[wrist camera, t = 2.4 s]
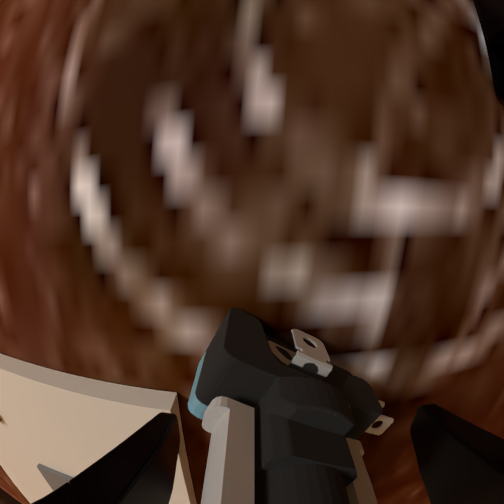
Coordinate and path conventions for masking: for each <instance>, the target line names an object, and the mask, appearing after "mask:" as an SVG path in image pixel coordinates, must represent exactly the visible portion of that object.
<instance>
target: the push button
mask: <svg viewBox="0 0 504 504" xmlns="http://www.w3.org/2000/svg"><path fill="white" fill-rule="evenodd" d="M291 334H292V338H293V342H294V346H295V348H293V347H291V346H289V345H287V344H284V343H282V342H280V341H278V340H276V339H274V338H271V337H269V336H267V335H265V332H264V330H263V327H262V324H261V322H260V321H259V320H258V319H257V318H256V317H254V316H252V315H250V314H248V313H246V312H244V311H242V310H240V309H237V308H230V310H229V311H228V313H227V315H226V317H225V318H224V320H223V322H222V324H221V326H220V327H219V329H218V331H217V333H216V334H215V336H214V338H213V340H212V341H211V343H210V345H209V347H208V348H207V350H206V352H205V354H204V355H203V357H202V359H201V361H200V362H199V365H198V369H197V373H196V376H195V380H194V383H193V387H192V390H191V394H190V398H189V401H188V409H189V411H190V412H191V413H192V414H193V415H194V416H196V417H197V418H200V419H202V420H203V421H202V427H203V429H204V430H206V431H207V432H209V433H212V434H211V440H210V446H209V453H208V459H207V466H206V472H205V479H204V485H203V492H202V499H201V504H378V502H377V499H376V496H375V493H374V490H373V487H372V484H371V482H370V479H369V476H368V473H367V470H366V467H365V464H364V461H363V459H362V456H363V454H364V450H363V447H362V444H361V442H360V441H358V440H357V439H358V438H359V437H360V436H361V435H362V434H363V433H364V432H367V433H371V434H375V435H381V434H382V433H383V432H384V431H385V430H386V429H387V428H388V427H389V426H390V425H391V424H392V423H393V422H394V419H393V418H391V417H388V416H385V415H381V414H382V413H383V409H382V408H383V407H384V406H385V403H384V402H383V401H380V400H378V399H377V397H376V395H375V393H374V391H373V390H372V388H371V386H370V385H369V384H368V383H367V382H366V381H364V380H363V379H361V378H358V377H356V376H353V375H352V374H351V373H350V372H348V371H347V370H344V369H342V368H340V367H337V366H335V365H332V364H330V363H329V362H330V358H329V356H328V354H327V351H326V349H325V346H324V344H323V343H322V342H321V341H320V340H319V339H317V338H315V337H313V336H311V335H309V334H306V333H304V332H302V331H300V330H298V329H292V330H291ZM303 339H305V340H307V341H309V342H311V343H312V344H313V345H314V346H315V347H316V348H313V347H311V346H309V345H308V344H306V343H305V342H304V341H303ZM376 421H383V422H382V424H381V425H380V426H379V427H377V428H372V425H373V423H375V422H376Z"/></svg>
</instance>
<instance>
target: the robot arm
mask: <svg viewBox="0 0 504 504" xmlns="http://www.w3.org/2000/svg"><path fill="white" fill-rule="evenodd" d="M473 1H474V3H475V7H476V10H477V13H478V16H479V20H480V23H481V27H482V30H483V34H484V38H485V42H486V46H487V51H488V55H489V60H490V65H491V71H492V76H493V83H494V87H495V90H496V92H497V94H498V95H499V96H500V98H501V99H503V100H504V0H473ZM410 433H411V437H412V441H413V445H414V449H415V453H416V457H417V461H418V465H419V469H420V473H421V476H422V479H423V482H424V485H425V488H426V491H427V493H428V496H429V499H430V502H431V504H504V439H502V438H500V437H498V436H496V435H494V434H492V433H490V432H488V431H486V430H484V429H482V428H480V427H478V426H476V425H474V424H472V423H470V422H468V421H466V420H464V419H462V418H460V417H458V416H456V415H455V414H453V413H451V412H449V411H447V410H445V409H443V408H441V407H439V406H438V405H436V404H434V403H429V404H424V405H421V406H420V407H419V408H418V410H417V412H416V415H415V417H414V420H413V422H412V424H411V428H410ZM179 447H180V431H179V425H178V419H177V416H176V415H175V414H173V413H166V412H161V413H159V414H157V415H156V416H155V417H154V418H152V419H151V420H150V421H148V422H147V423H146V424H145V425H143V426H142V427H141V428H140V429H138V430H137V431H136V432H134V433H133V434H132V435H131V436H129V437H128V438H127V439H125V440H124V441H123V442H121V443H120V444H119V445H118V446H116V447H115V448H114V449H112V450H111V451H110V452H108V453H107V454H106V455H104V456H103V457H101V458H100V459H99V460H97V461H96V462H95V463H93V464H92V465H90V466H89V467H88V468H86V469H85V470H83V471H82V472H81V473H79V474H78V475H76V476H75V477H74V478H72V479H71V480H69V482H66V483H65V484H63V485H62V486H60V487H59V488H57V489H56V490H54V491H52V492H51V493H49V494H48V495H46V496H44V497H43V498H41V499H39V500H37V501H35V502H33V503H31V504H169V501H170V498H171V494H172V490H173V485H174V479H175V472H176V466H177V459H178V453H179Z"/></svg>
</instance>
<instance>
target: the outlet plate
mask: <svg viewBox="0 0 504 504" xmlns="http://www.w3.org/2000/svg"><path fill="white" fill-rule="evenodd" d="M161 412H166V413H173V414H175V415H176V416H177V419H178V425H179V431H180V447H179V453H178V459H177V466H176V472H175V479H174V485H173V490H172V494H171V498H170V501H169V504H197V502H196V497H195V493H194V488H193V484H192V479H191V474H190V469H189V464H188V459H187V453H186V448H185V442H184V436H183V430H182V424H181V418H180V411H179V404H178V397H177V393H176V392H168V391H160V390H152V389H145V388H138V387H132V386H126V385H120V384H115V383H109V382H104V381H99V380H94V379H90V378H85V377H81V376H76V375H72V374H68V373H64V372H60V371H56V370H52V369H49V368H45V367H41V366H38V365H34V364H31V363H28V362H24V361H21V360H18V359H15V358H12V357H9V356H6V355H3V354H0V465H1V466H2V468H3V469H4V470H5V472H6V473H7V475H8V476H9V477H10V479H11V480H12V481H13V483H14V484H15V485H16V486H17V488H18V489H19V490H20V491H21V493H22V494H23V495H24V496H25V498H26V499H27V500H28V501H29V502H30V503H33V502H35V501H37V500H39V499H41V498H43V497H44V496H46V495H48V494H49V493H51V492H52V491H54V490H56V489H57V488H59V487H60V486H62V485H63V484H65V483H66V482H69V480H71V479H72V478H74V477H75V476H76V475H78V474H79V473H81V472H82V471H83V470H85V469H86V468H88V467H89V466H90V465H92V464H93V463H95V462H96V461H97V460H99V459H100V458H101V457H103V456H104V455H106V454H107V453H108V452H110V451H111V450H112V449H114V448H115V447H116V446H118V445H119V444H120V443H121V442H123V441H124V440H125V439H127V438H128V437H129V436H131V435H132V434H133V433H134V432H136V431H137V430H138V429H140V428H141V427H142V426H143V425H145V424H146V423H147V422H148V421H150V420H151V419H152V418H154V417H155V416H156V415H157V414H159V413H161Z"/></svg>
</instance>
